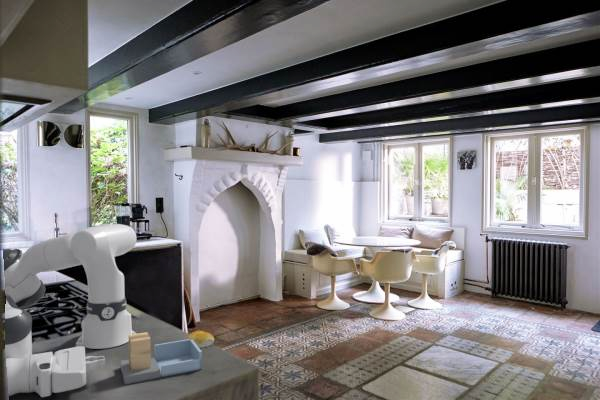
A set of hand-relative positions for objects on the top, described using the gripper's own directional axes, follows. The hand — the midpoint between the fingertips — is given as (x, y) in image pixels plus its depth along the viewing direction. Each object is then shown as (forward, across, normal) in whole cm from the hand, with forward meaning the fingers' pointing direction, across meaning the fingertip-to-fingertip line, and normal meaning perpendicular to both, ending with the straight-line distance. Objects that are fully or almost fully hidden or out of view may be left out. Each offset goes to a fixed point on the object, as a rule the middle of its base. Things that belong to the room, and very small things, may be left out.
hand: (105, 360), depth 114 cm
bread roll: (+29, -15, -6) cm, 34 cm away
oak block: (+9, -1, -3) cm, 9 cm away
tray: (+19, -1, -5) cm, 20 cm away
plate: (+9, -1, -5) cm, 10 cm away
